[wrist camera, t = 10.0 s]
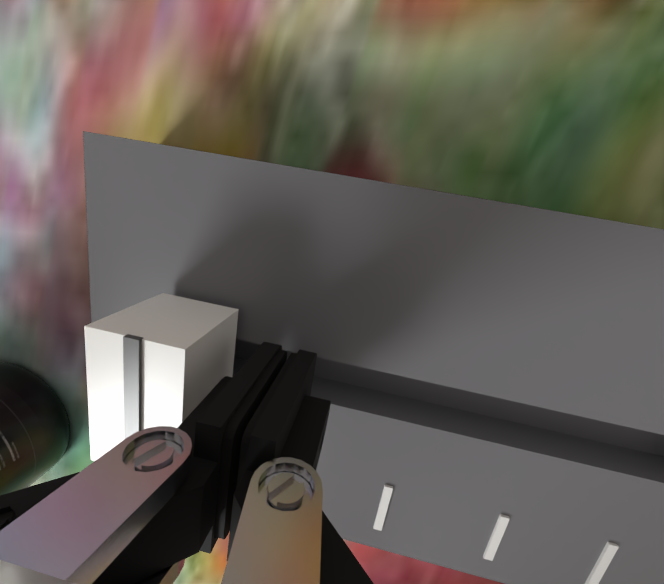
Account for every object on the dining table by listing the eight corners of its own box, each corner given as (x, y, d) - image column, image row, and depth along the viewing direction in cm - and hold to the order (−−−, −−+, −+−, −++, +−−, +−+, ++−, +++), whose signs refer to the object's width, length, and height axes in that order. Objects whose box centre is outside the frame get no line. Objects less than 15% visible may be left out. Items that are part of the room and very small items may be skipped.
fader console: (157, 148, 14) (80, 130, 10) (790, 255, 11) (967, 280, 8) (152, 418, 17) (95, 472, 14) (629, 540, 15) (701, 640, 12)
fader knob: (188, 281, 12) (80, 327, 8) (255, 295, 12) (183, 350, 8) (184, 377, 14) (87, 463, 9) (245, 392, 13) (176, 487, 9)
